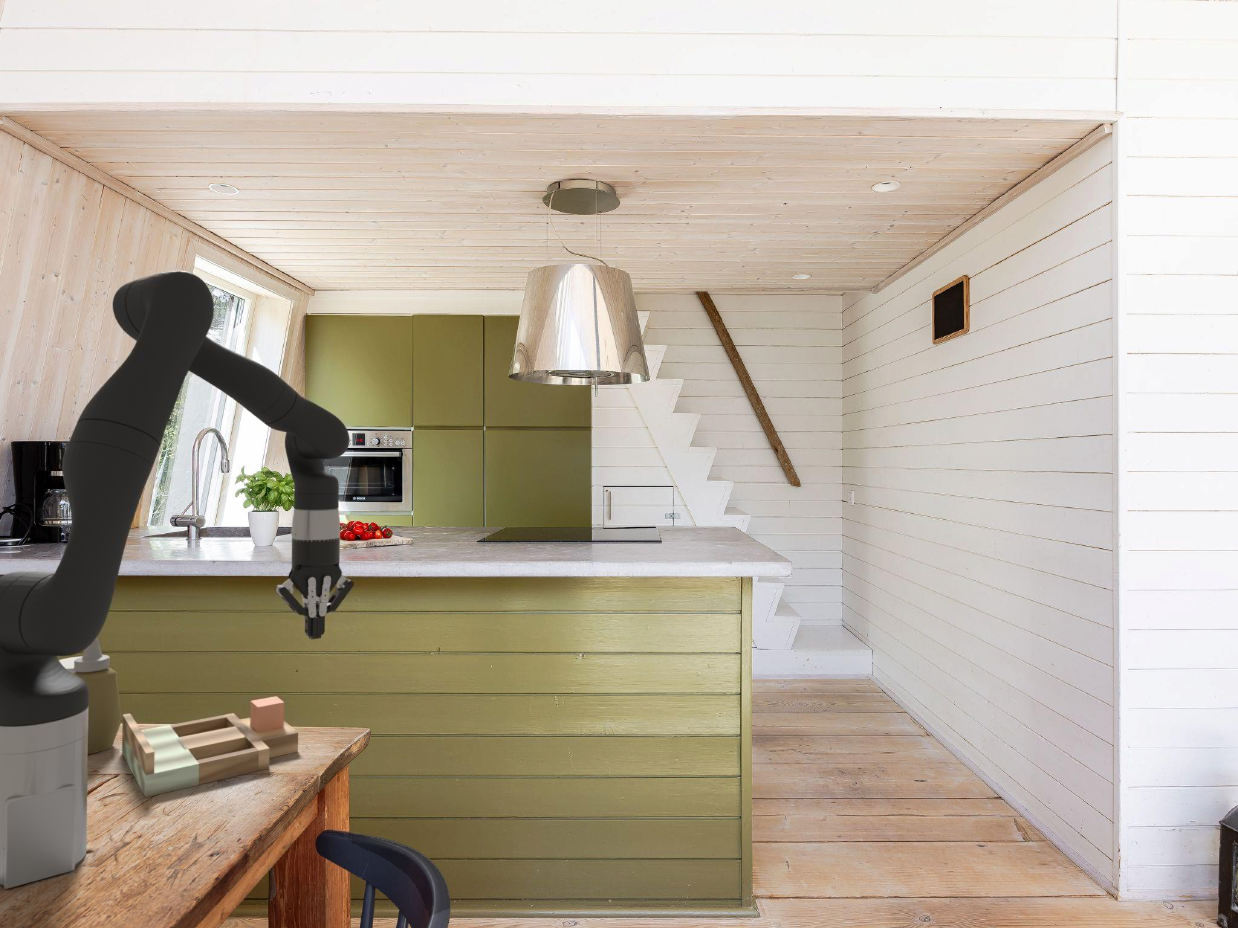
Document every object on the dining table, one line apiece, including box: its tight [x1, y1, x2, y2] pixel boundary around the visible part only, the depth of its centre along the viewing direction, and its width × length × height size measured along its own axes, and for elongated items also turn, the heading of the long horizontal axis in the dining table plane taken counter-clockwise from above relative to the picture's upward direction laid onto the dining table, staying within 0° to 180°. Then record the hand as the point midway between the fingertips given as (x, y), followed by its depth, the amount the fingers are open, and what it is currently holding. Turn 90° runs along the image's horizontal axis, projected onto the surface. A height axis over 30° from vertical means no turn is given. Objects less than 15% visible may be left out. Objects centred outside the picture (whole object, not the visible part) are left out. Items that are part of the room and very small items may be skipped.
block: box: [249, 695, 285, 732], centre depth 124 cm, size 4×4×4 cm
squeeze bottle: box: [73, 636, 123, 754], centre depth 121 cm, size 8×8×18 cm
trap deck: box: [121, 712, 299, 798], centre depth 119 cm, size 20×22×6 cm
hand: (314, 637), depth 129 cm, fingers closed
